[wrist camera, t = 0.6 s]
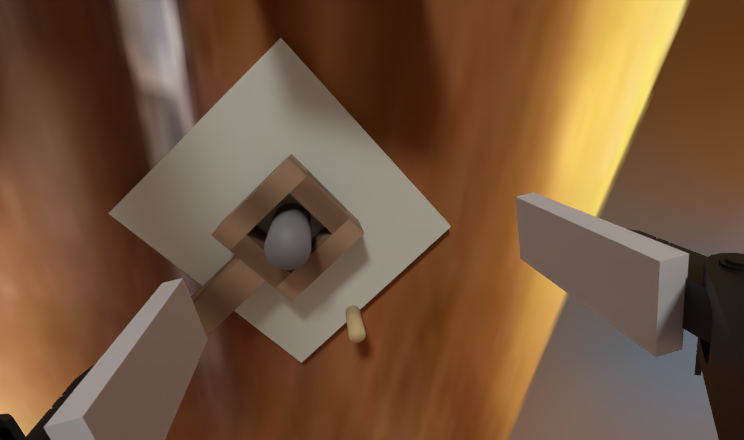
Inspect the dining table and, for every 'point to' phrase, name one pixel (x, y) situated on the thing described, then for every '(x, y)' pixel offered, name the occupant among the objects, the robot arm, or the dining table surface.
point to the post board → (284, 200)
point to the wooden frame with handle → (249, 240)
